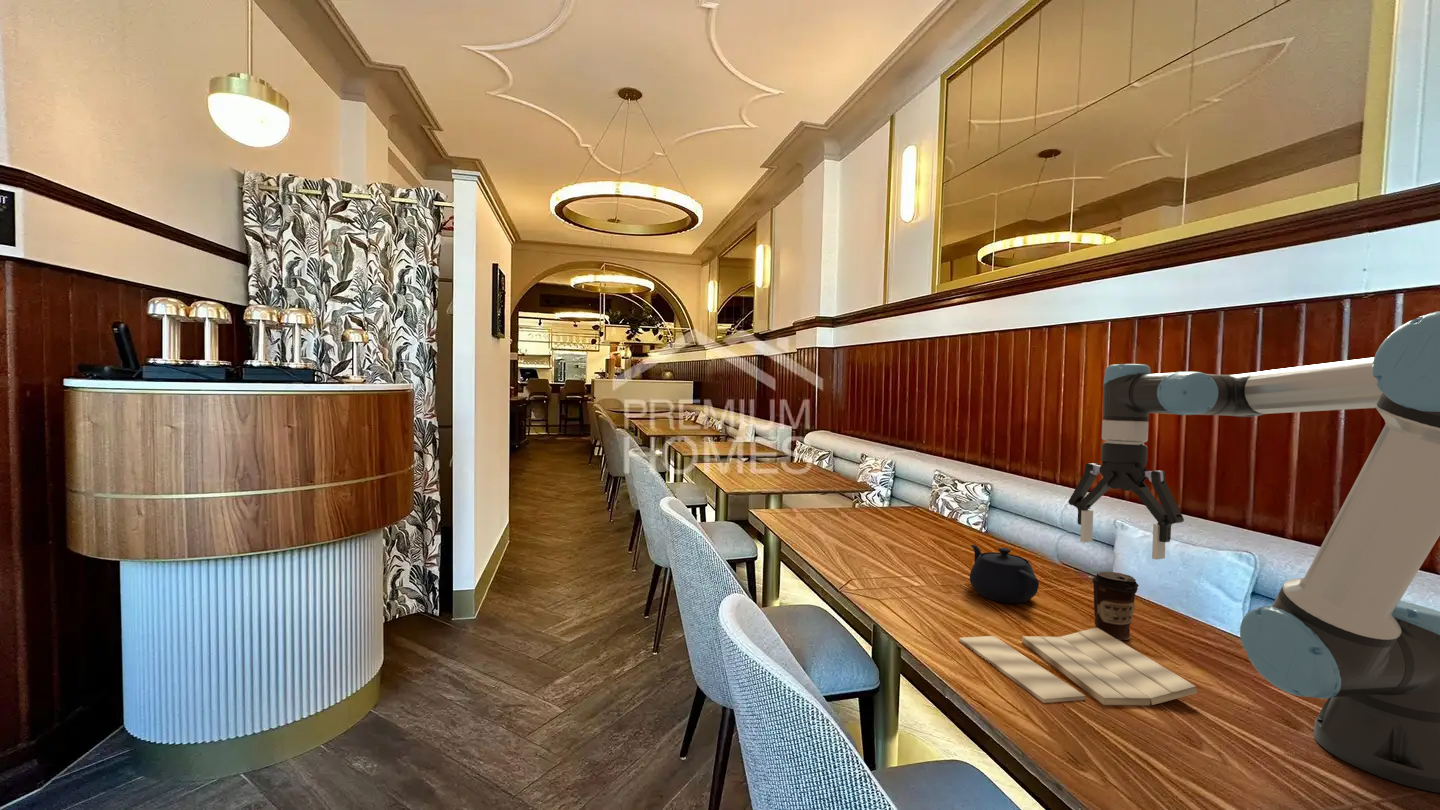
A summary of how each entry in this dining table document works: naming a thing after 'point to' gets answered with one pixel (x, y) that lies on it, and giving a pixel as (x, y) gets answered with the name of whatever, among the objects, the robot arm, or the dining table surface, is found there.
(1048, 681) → the plank
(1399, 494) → the robot arm
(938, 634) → the dining table surface
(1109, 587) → the coffee cup
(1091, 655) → the plank
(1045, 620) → the dining table surface
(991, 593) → the teapot
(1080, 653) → the laid board
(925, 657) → the dining table surface
